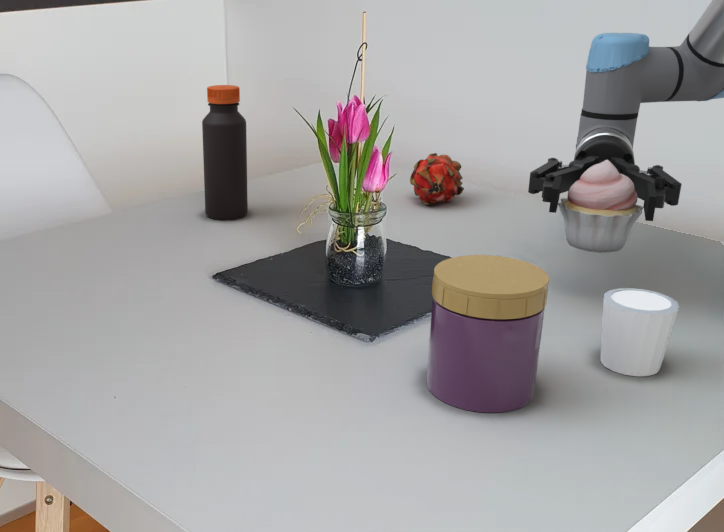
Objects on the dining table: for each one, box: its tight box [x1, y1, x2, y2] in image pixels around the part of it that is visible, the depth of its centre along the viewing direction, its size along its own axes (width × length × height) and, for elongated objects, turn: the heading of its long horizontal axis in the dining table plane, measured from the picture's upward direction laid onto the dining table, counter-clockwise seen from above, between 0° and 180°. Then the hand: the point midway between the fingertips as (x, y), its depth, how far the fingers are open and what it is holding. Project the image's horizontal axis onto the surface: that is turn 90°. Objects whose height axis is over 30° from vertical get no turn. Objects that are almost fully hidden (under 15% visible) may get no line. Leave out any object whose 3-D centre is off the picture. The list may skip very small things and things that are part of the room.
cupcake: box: [558, 160, 644, 253], centre depth 96 cm, size 9×9×10 cm
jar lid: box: [431, 254, 550, 319], centre depth 76 cm, size 10×10×2 cm
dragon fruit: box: [409, 152, 465, 206], centre depth 139 cm, size 8×8×12 cm
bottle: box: [201, 84, 249, 221], centre depth 130 cm, size 7×7×20 cm
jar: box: [426, 296, 546, 414], centre depth 78 cm, size 10×10×11 cm
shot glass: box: [599, 287, 680, 377], centre depth 83 cm, size 7×7×7 cm
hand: (601, 204), depth 92 cm, fingers closed on cupcake, 9 cm apart
